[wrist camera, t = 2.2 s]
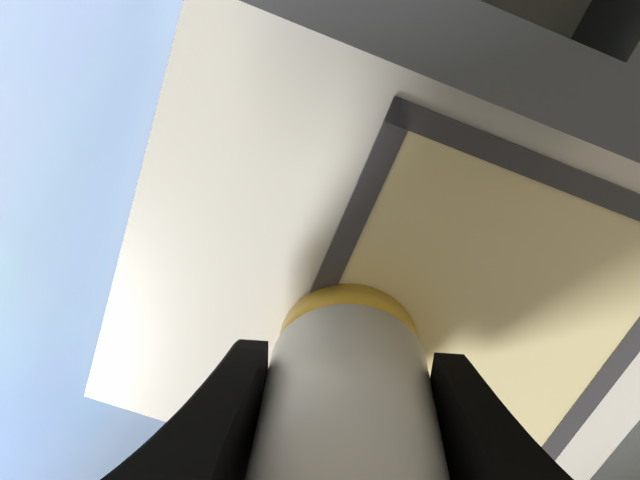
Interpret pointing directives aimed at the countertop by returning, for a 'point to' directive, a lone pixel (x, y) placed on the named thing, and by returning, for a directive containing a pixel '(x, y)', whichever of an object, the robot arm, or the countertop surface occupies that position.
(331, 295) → the two-tone rounded cylinder
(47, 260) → the countertop surface
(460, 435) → the robot arm
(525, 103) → the button housing
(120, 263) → the board
